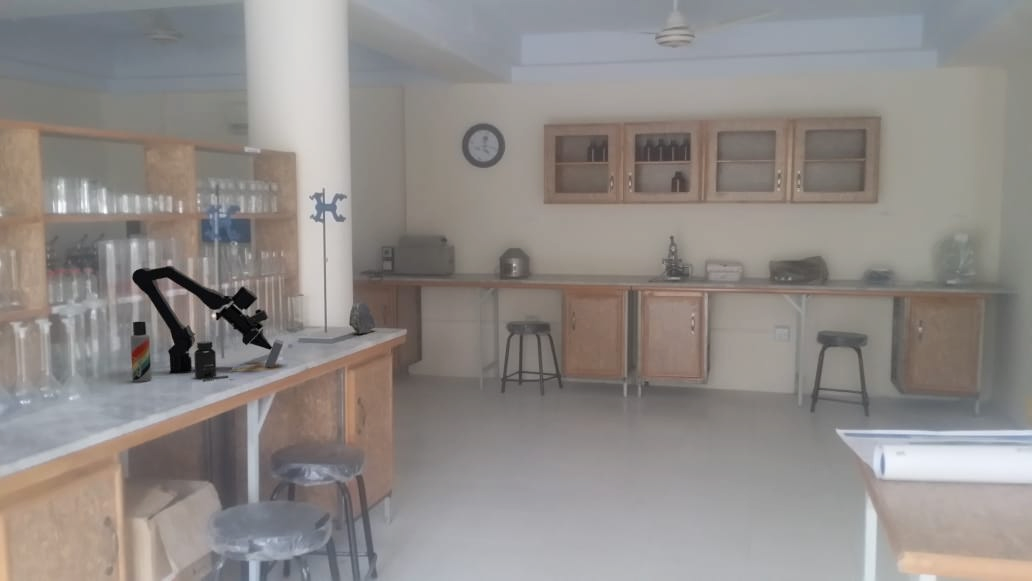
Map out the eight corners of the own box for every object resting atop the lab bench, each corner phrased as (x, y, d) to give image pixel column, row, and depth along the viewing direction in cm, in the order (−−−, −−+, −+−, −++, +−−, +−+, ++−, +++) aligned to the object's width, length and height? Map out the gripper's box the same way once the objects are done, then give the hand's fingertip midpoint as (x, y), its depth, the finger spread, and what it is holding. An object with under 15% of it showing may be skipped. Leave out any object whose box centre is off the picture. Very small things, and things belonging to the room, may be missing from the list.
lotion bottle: (131, 382, 271) (128, 322, 269) (134, 379, 276) (131, 320, 274) (149, 381, 272) (146, 321, 270) (152, 378, 278) (149, 319, 276)
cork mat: (229, 372, 287) (229, 371, 287) (233, 366, 298) (233, 364, 298) (276, 370, 290) (276, 369, 290) (279, 364, 302) (279, 363, 302)
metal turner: (205, 383, 270) (205, 380, 270) (201, 379, 275) (200, 376, 275) (250, 377, 278) (250, 374, 278) (246, 374, 283) (245, 371, 283)
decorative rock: (358, 336, 366) (357, 302, 364) (346, 335, 369) (345, 302, 367) (378, 331, 381) (378, 298, 379) (366, 330, 384) (365, 298, 382)
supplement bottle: (209, 379, 275) (207, 344, 274) (190, 378, 277) (189, 343, 276) (220, 375, 282) (219, 340, 281) (202, 374, 283) (201, 340, 282)
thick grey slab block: (264, 365, 291) (274, 341, 291) (266, 361, 298) (275, 338, 298) (273, 368, 292) (282, 344, 292) (274, 364, 299) (284, 341, 299)
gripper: (250, 306, 283) (285, 336, 286) (256, 299, 301) (288, 328, 304) (227, 329, 282) (262, 359, 285) (234, 322, 300) (267, 350, 303)
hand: (271, 348), depth 295 cm, fingers closed
